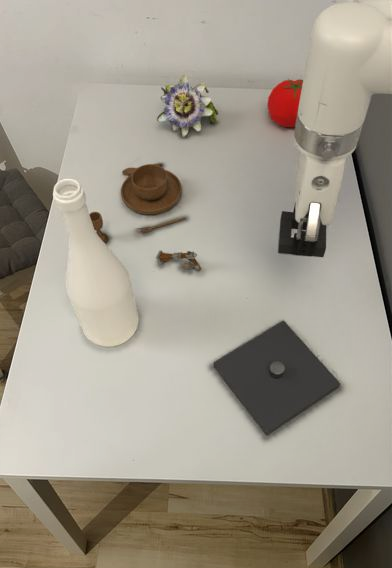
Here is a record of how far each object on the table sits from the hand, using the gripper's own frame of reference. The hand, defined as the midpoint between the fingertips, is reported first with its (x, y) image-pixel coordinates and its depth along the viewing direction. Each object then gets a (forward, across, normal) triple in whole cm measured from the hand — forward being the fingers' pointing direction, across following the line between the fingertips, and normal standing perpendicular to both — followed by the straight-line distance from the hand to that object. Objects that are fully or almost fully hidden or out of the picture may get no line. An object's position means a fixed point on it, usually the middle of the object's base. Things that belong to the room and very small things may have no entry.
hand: (302, 234), depth 74 cm
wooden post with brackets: (+15, +4, +20) cm, 25 cm away
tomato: (+15, +47, +2) cm, 49 cm away
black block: (+1, 0, 0) cm, 1 cm away
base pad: (+15, -16, +1) cm, 22 cm away
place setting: (+15, +19, +31) cm, 39 cm away
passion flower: (+15, +44, +24) cm, 52 cm away
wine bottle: (+15, -10, +29) cm, 34 cm away
